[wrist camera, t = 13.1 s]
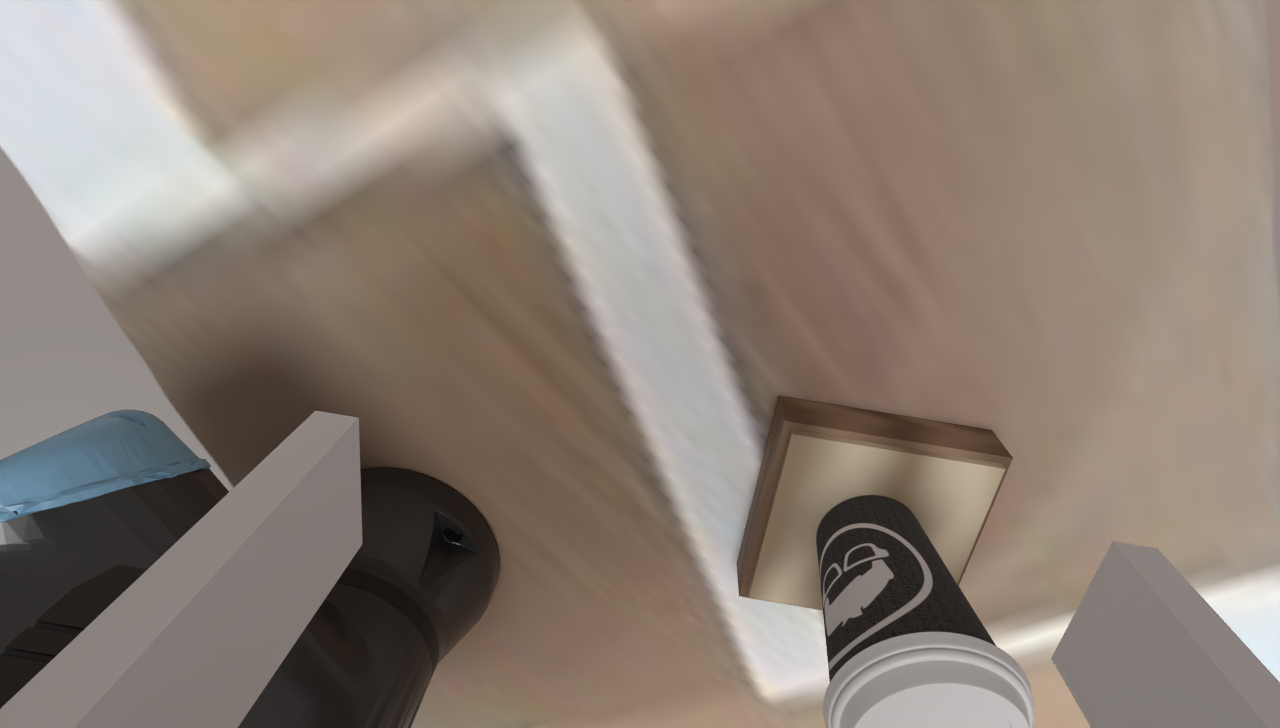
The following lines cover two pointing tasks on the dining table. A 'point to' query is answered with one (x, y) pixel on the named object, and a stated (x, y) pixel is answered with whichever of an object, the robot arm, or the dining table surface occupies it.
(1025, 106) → the dining table surface
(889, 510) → the coffee cup
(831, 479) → the pedestal
